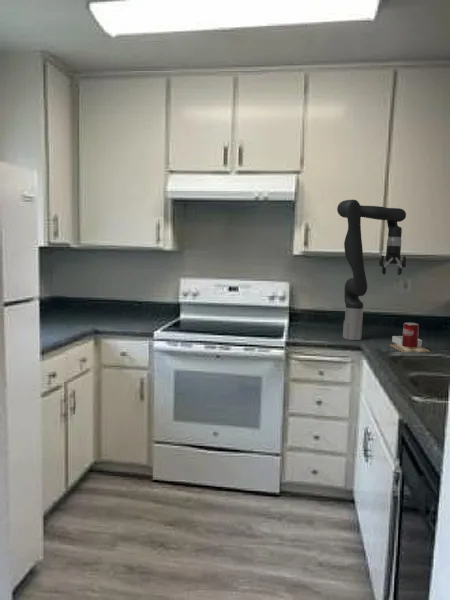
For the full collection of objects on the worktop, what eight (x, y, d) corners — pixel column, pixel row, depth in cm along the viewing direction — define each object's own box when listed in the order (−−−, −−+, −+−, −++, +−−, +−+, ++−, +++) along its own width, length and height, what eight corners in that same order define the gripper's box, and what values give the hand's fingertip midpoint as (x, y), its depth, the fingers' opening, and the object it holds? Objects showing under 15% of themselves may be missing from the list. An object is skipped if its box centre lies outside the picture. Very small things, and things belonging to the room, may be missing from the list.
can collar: (401, 345, 253) (401, 340, 253) (392, 341, 264) (392, 336, 264) (421, 346, 254) (422, 340, 254) (411, 341, 265) (412, 336, 265)
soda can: (409, 349, 241) (410, 325, 239) (398, 346, 248) (400, 322, 246) (420, 348, 244) (422, 324, 242) (410, 345, 250) (411, 322, 249)
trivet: (402, 352, 238) (402, 350, 238) (389, 346, 252) (390, 344, 252) (429, 352, 239) (429, 350, 239) (416, 346, 253) (416, 344, 253)
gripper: (384, 244, 267) (381, 274, 268) (409, 245, 268) (406, 275, 270) (378, 244, 274) (376, 273, 276) (403, 246, 275) (401, 274, 277)
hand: (391, 274), depth 273 cm, fingers open, 8 cm apart
